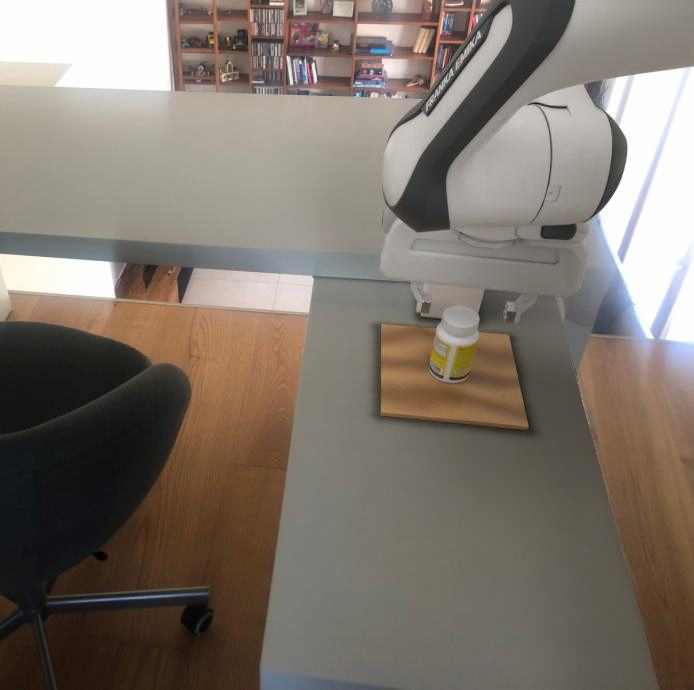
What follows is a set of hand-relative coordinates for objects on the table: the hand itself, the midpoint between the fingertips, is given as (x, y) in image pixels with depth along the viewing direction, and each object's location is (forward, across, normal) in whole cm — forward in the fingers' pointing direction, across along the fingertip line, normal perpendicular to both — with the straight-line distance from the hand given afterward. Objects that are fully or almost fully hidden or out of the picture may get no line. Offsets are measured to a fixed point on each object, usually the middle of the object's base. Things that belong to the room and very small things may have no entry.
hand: (465, 314), depth 77 cm
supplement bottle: (+9, 0, 0) cm, 9 cm away
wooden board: (+9, 0, 0) cm, 9 cm away
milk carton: (+9, 0, +15) cm, 17 cm away
